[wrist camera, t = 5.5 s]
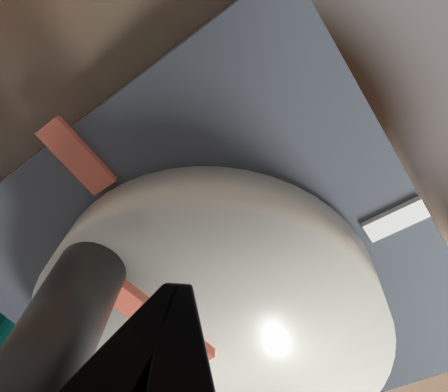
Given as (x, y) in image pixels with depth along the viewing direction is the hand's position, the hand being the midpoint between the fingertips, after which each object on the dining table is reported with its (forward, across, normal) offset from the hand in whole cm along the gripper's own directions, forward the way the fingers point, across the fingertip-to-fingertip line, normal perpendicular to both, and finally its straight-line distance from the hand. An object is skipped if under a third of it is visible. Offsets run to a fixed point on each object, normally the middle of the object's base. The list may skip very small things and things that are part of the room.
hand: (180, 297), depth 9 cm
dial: (+4, 0, +4) cm, 6 cm away
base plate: (+5, 0, +4) cm, 7 cm away
